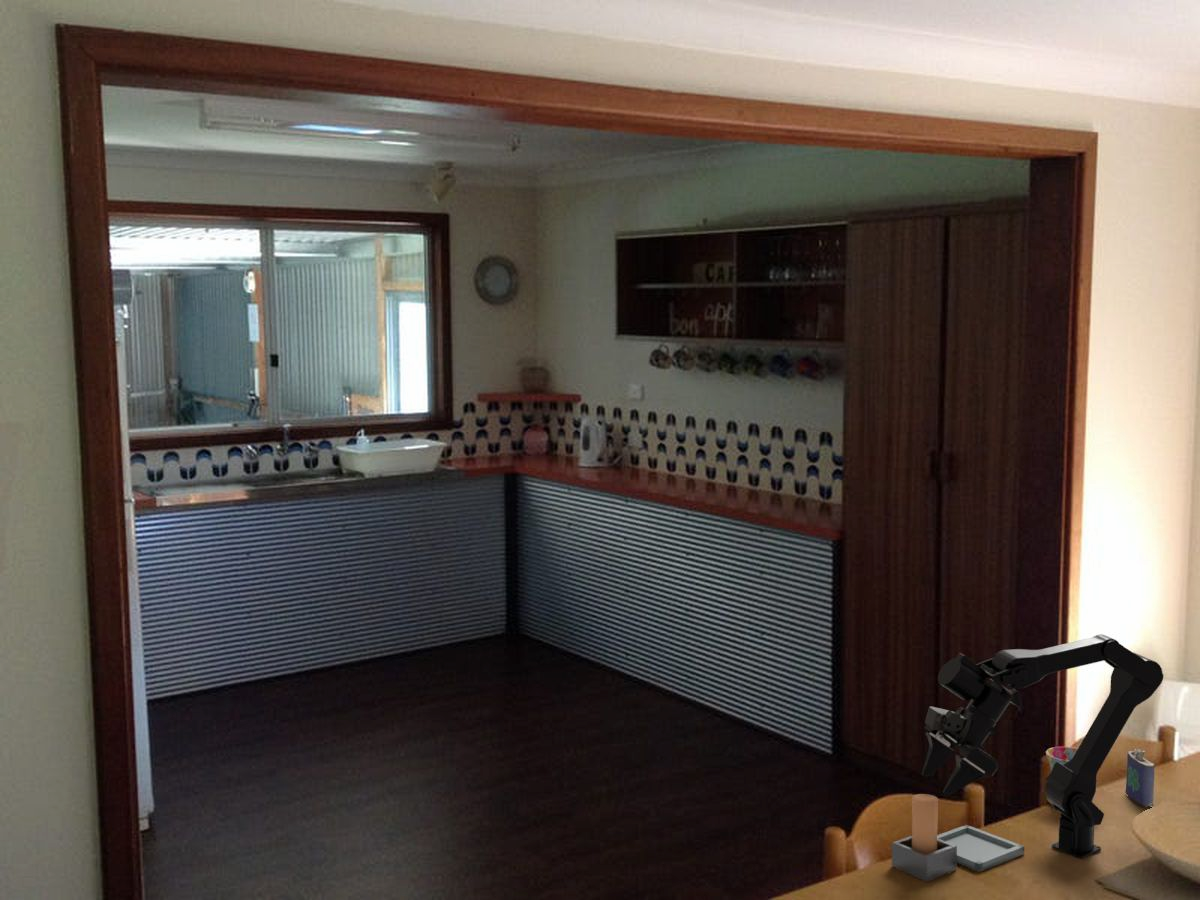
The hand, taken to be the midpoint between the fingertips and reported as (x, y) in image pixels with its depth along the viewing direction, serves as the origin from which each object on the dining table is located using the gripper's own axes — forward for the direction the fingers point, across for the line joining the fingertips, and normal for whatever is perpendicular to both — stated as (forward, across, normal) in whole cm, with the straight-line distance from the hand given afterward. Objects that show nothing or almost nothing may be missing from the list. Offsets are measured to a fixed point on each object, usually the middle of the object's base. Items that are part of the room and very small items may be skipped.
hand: (934, 784), depth 234 cm
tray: (+7, -3, +16) cm, 17 cm away
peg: (+13, +3, +6) cm, 15 cm away
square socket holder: (+13, +3, +6) cm, 15 cm away
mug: (-11, -22, +41) cm, 47 cm away
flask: (-19, -21, +52) cm, 59 cm away
